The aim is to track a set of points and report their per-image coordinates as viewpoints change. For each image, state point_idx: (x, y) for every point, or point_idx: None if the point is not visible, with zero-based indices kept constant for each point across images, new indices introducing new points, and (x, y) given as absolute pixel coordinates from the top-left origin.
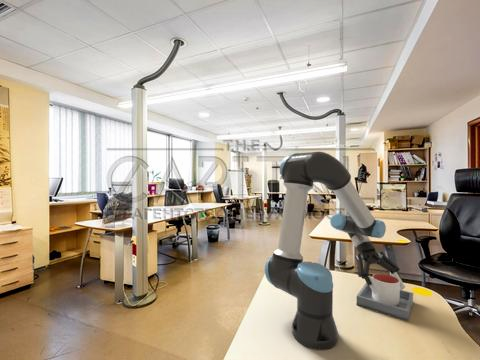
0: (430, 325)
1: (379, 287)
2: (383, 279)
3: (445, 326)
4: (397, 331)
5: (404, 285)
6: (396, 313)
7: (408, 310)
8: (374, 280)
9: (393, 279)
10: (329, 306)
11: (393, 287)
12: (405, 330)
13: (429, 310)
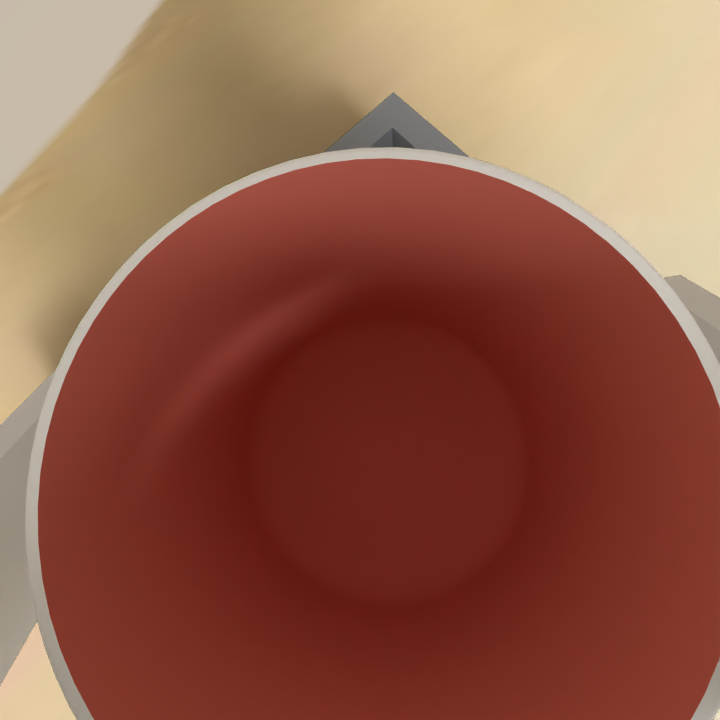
0: (261, 116)
1: (601, 347)
2: (251, 698)
3: (166, 100)
4: (574, 68)
5: (43, 385)
6: None
7: (381, 104)
8: (718, 486)
9: (101, 531)
10: None
11: (394, 198)
12: (501, 75)
13: (73, 294)
